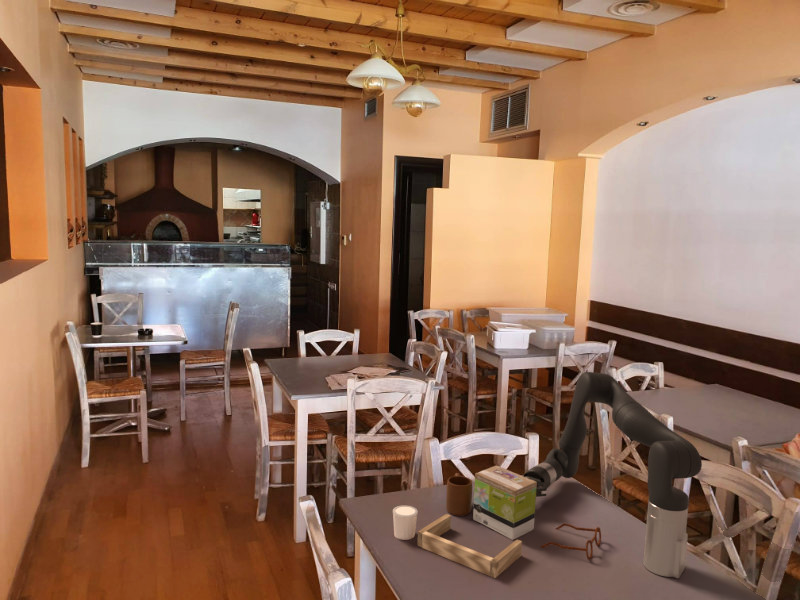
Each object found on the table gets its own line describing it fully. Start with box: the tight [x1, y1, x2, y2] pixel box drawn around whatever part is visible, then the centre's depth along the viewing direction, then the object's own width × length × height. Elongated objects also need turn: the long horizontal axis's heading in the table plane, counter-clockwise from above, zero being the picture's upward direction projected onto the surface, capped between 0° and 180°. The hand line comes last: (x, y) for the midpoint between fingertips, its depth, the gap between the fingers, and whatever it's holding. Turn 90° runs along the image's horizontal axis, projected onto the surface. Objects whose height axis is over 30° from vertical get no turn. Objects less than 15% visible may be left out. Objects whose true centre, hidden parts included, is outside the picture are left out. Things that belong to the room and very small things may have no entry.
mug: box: [445, 472, 473, 517], centre depth 191 cm, size 12×8×9 cm, turn 1°
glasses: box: [539, 522, 602, 560], centre depth 171 cm, size 13×13×5 cm
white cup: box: [392, 505, 419, 541], centre depth 173 cm, size 7×7×7 cm
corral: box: [416, 513, 523, 579], centre depth 166 cm, size 24×14×4 cm, turn 52°
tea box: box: [472, 464, 537, 541], centre depth 180 cm, size 15×10×15 cm, turn 42°
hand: (514, 495), depth 184 cm, fingers closed
